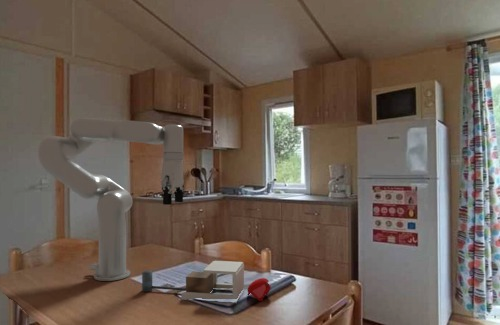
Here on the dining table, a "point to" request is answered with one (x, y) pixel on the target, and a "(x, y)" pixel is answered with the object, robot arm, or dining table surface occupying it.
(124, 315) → the dining table surface
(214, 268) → the lever switch box
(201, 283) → the knobbed lever joystick
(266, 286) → the cap
